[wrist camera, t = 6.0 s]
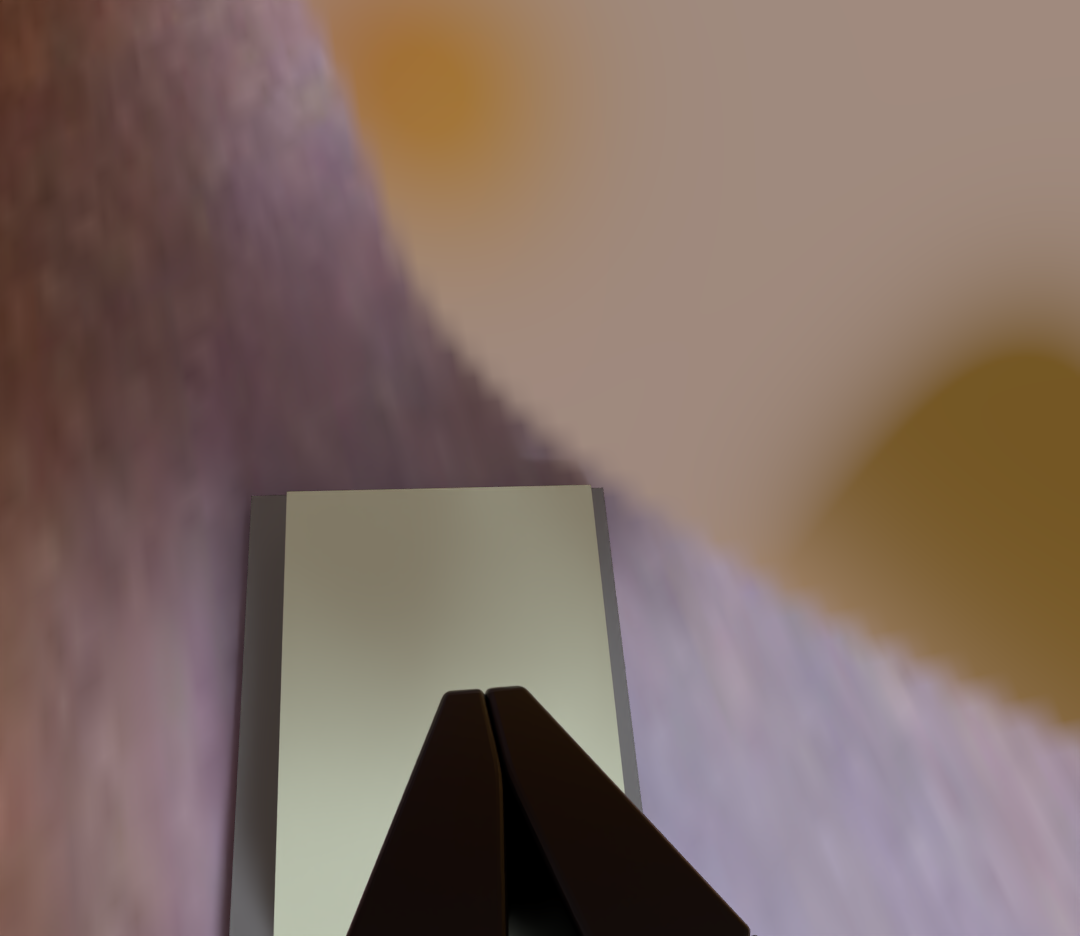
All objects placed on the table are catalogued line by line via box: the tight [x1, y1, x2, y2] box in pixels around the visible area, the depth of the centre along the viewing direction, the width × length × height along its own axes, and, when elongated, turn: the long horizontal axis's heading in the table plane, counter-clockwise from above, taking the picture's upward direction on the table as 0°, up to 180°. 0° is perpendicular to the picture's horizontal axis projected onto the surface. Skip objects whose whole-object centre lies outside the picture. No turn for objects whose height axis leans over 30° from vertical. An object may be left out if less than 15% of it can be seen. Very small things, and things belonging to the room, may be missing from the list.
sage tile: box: [274, 485, 625, 936], centre depth 12 cm, size 2×5×8 cm
